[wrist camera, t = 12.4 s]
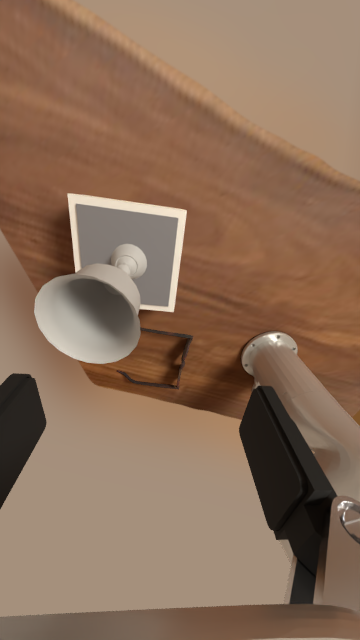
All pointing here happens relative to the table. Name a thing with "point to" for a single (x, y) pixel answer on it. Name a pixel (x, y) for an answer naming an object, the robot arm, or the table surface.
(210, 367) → the table surface
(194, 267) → the table surface
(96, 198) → the display plinth
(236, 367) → the table surface
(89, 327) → the chalice
